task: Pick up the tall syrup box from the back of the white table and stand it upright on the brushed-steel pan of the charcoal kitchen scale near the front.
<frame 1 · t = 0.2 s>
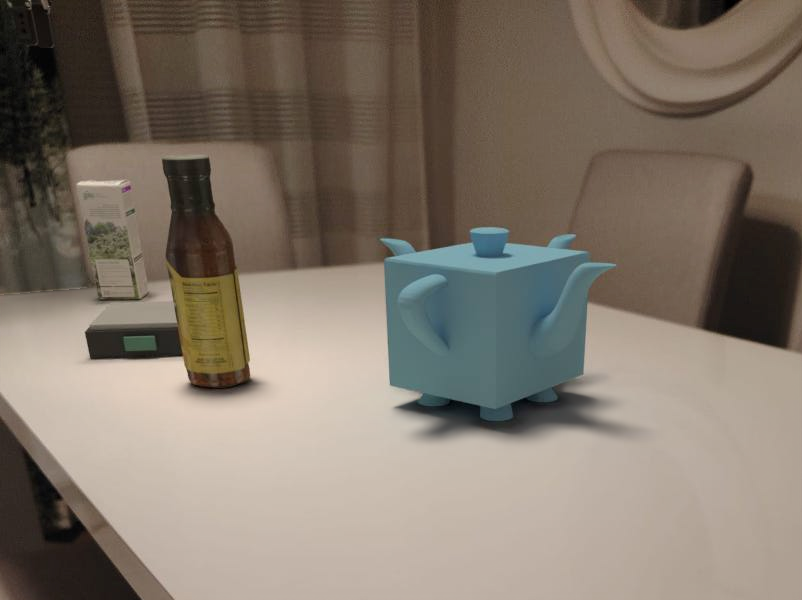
hand: (37, 46, 121), 30 cm above the table, tool pointing down, fingers open, 8 cm apart
syrup box: (124, 297, 130), on the table
scale: (152, 342, 106), on the table
teakettle: (494, 399, 88), on the table
sauce bottle: (219, 384, 92), on the table
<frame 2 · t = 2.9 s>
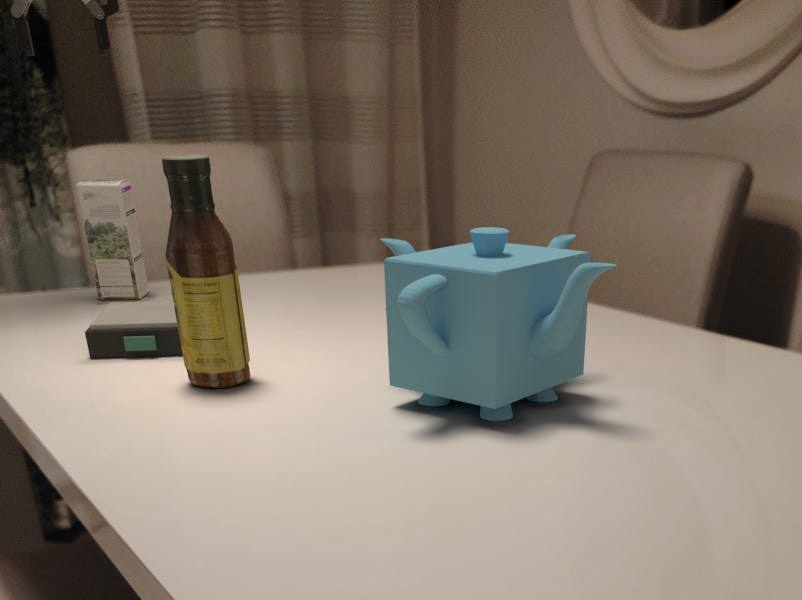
hand: (67, 55, 117), 28 cm above the table, tool pointing down, fingers open, 8 cm apart
nothing on the table moved.
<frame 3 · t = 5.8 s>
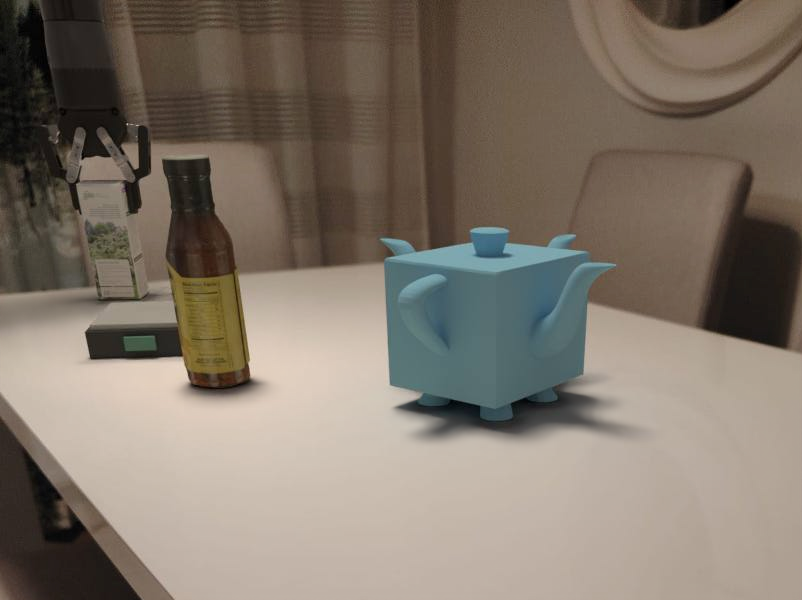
hand: (109, 213, 125), 11 cm above the table, tool pointing down, fingers closed on syrup box, 6 cm apart
syrup box: (124, 297, 130), on the table, touching gripper
everything else where it was.
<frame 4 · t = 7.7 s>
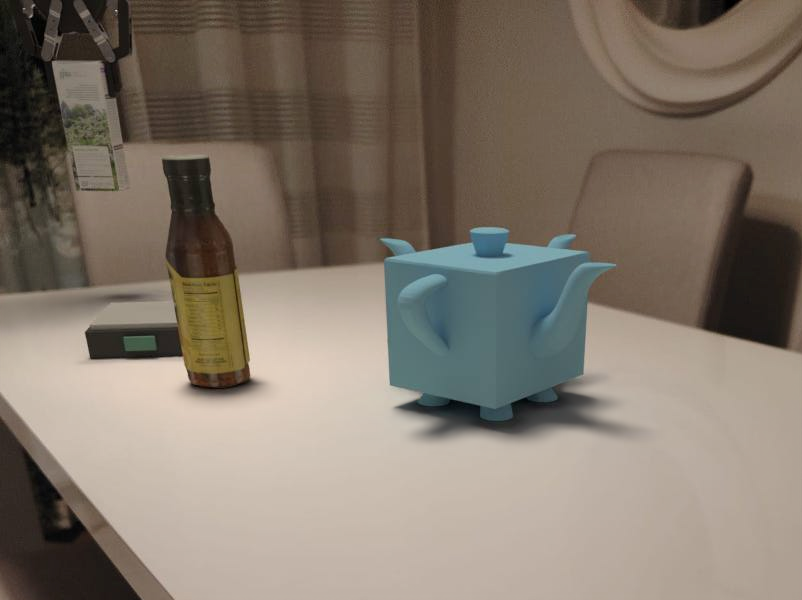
hand: (87, 96, 118), 24 cm above the table, tool pointing down, fingers closed on syrup box, 6 cm apart
syrup box: (104, 191, 123), point 13 cm above the table, touching gripper
everything else where it was.
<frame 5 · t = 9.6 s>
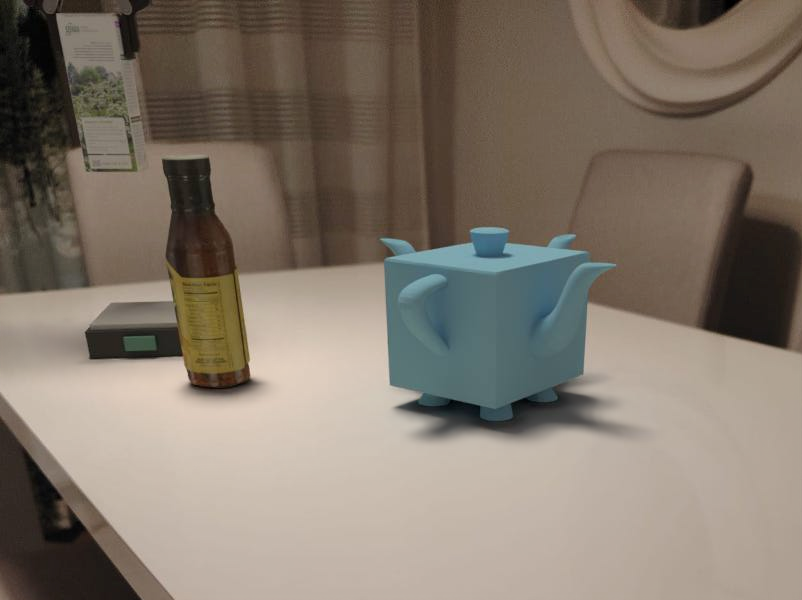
hand: (98, 58, 98), 28 cm above the table, tool pointing down, fingers closed on syrup box, 6 cm apart
syrup box: (118, 173, 103), point 17 cm above the table, touching gripper
everything else where it was.
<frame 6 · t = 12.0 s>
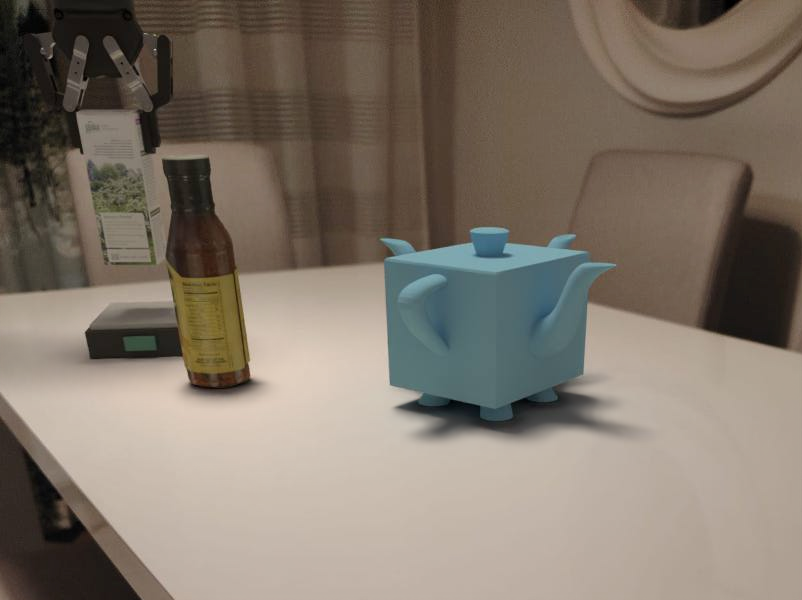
hand: (118, 153, 97), 19 cm above the table, tool pointing down, fingers closed on syrup box, 6 cm apart
syrup box: (137, 264, 102), point 8 cm above the table, touching gripper
everything else where it was.
when the fingers open (14 cm above the table, at t = 13.9 s): syrup box stays where it is, resting on scale.
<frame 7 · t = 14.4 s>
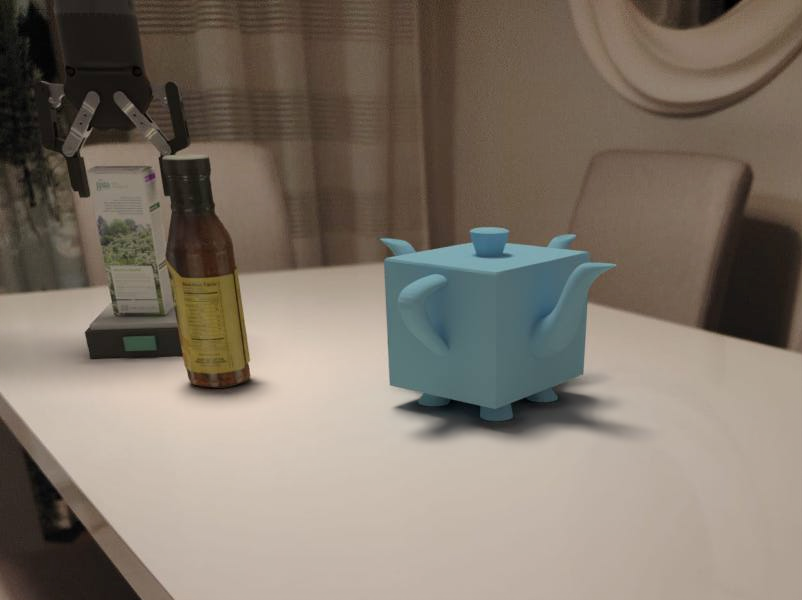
hand: (127, 196, 99), 15 cm above the table, tool pointing down, fingers open, 8 cm apart
syrup box: (146, 313, 105), point 3 cm above the table, touching scale
everything else where it was.
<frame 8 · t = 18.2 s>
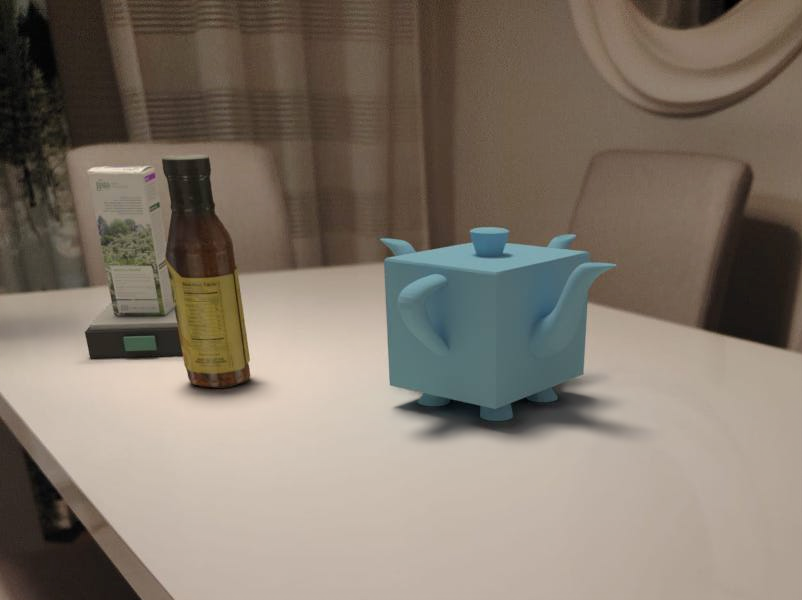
nothing on the table moved.
at the end: syrup box inside the target area on the scale (0.1 cm from its centre), point 3.2 cm above the scale's base; syrup box tilted 0°; the gripper is holding nothing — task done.
